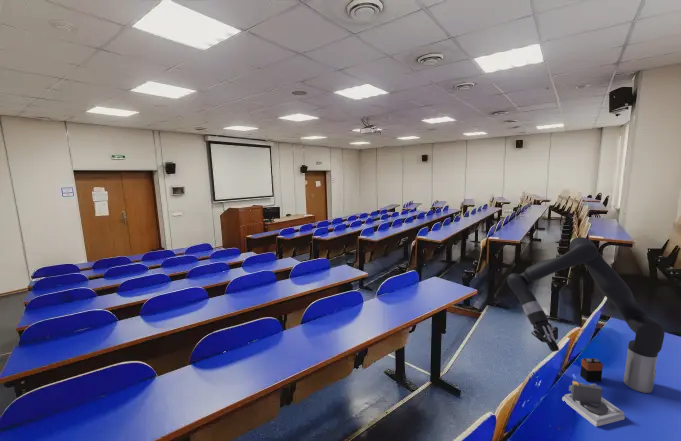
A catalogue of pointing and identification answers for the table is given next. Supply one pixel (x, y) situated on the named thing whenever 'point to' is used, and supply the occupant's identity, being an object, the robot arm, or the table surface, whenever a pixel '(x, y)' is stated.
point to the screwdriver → (579, 383)
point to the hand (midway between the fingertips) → (555, 350)
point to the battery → (591, 369)
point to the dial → (589, 397)
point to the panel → (596, 419)
